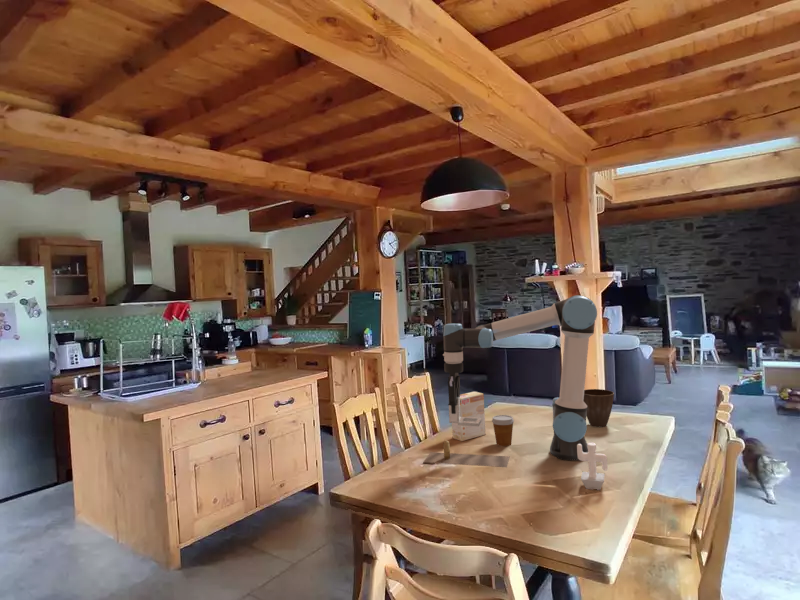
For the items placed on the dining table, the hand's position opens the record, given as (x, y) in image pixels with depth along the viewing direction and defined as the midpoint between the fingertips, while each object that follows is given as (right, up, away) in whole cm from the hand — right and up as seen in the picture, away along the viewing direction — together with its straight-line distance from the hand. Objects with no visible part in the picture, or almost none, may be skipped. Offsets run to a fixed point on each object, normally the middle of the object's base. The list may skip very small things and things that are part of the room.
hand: (455, 419), depth 202 cm
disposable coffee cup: (+23, -15, +16) cm, 32 cm away
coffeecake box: (+10, -15, +31) cm, 36 cm away
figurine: (+43, -15, -32) cm, 56 cm away
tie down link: (+4, -1, -1) cm, 4 cm away
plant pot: (+73, -12, +38) cm, 83 cm away
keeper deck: (+5, -16, -1) cm, 17 cm away
